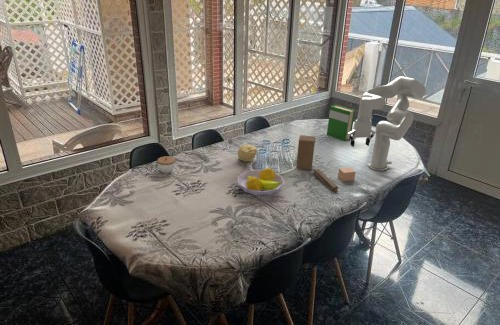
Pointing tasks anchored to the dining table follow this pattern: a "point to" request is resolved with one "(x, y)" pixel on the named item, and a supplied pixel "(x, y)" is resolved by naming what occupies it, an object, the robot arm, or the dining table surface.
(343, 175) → the block
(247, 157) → the pale yellow lumpy ball
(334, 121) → the hardback book
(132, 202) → the dining table surface
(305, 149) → the wooden block
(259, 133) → the dining table surface
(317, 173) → the brown wooden bar
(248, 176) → the fruit bowl
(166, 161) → the lidded jar
